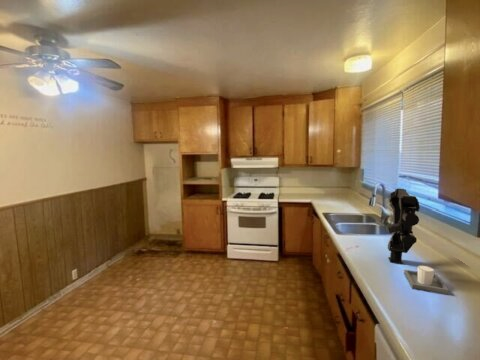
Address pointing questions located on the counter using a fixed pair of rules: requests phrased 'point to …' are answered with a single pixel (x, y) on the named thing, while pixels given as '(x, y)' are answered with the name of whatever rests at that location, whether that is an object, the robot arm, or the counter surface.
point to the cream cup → (425, 275)
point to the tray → (435, 287)
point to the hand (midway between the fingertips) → (403, 249)
